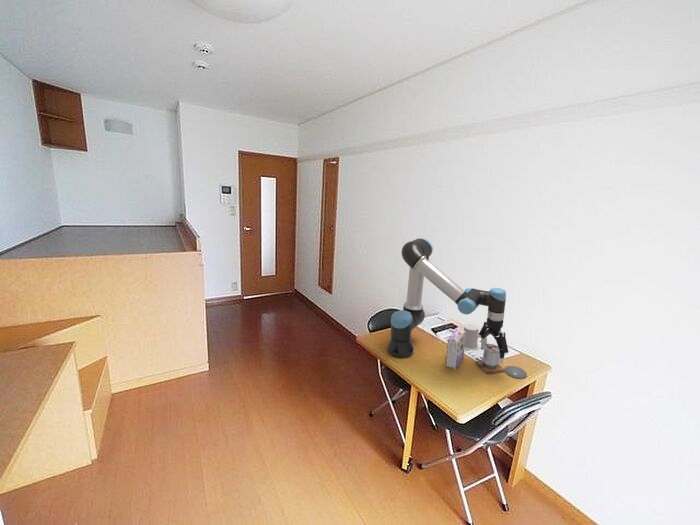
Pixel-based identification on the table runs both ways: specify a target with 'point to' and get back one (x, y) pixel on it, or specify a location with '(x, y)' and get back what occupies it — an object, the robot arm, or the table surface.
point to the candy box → (455, 348)
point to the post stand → (489, 367)
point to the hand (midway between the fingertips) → (491, 355)
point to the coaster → (515, 372)
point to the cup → (471, 336)
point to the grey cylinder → (490, 354)
